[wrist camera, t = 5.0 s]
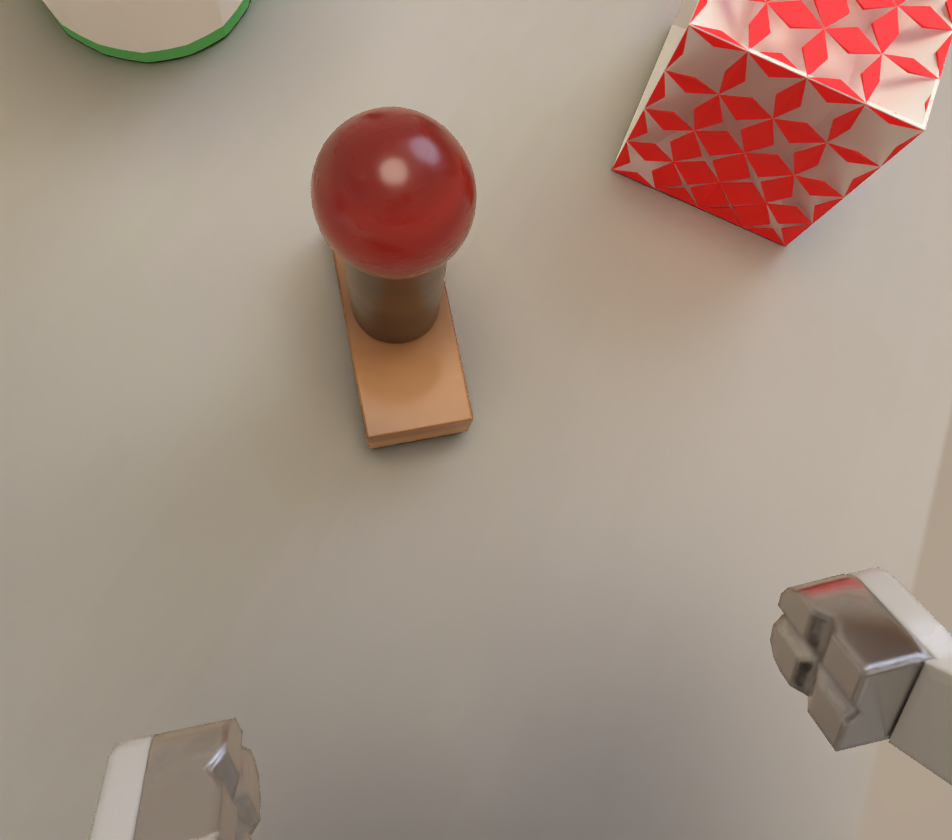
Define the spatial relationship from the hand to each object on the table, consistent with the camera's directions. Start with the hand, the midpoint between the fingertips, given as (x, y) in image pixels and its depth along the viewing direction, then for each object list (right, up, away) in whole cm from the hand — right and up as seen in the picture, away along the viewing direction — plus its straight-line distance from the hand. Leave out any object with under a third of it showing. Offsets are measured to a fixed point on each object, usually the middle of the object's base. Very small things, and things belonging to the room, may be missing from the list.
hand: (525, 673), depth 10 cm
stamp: (-4, +7, +16) cm, 18 cm away
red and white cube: (+10, +16, +20) cm, 27 cm away
